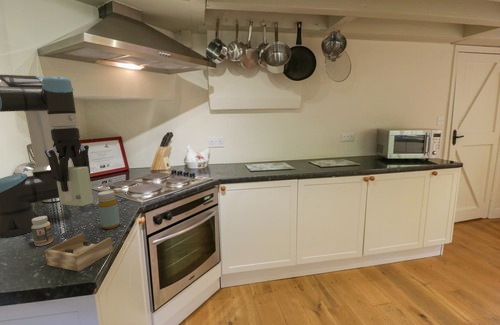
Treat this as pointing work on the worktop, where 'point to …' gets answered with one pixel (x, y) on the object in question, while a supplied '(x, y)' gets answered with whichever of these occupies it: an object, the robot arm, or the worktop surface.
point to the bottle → (108, 209)
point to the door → (78, 187)
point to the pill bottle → (41, 231)
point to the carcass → (77, 253)
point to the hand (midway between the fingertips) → (76, 198)
